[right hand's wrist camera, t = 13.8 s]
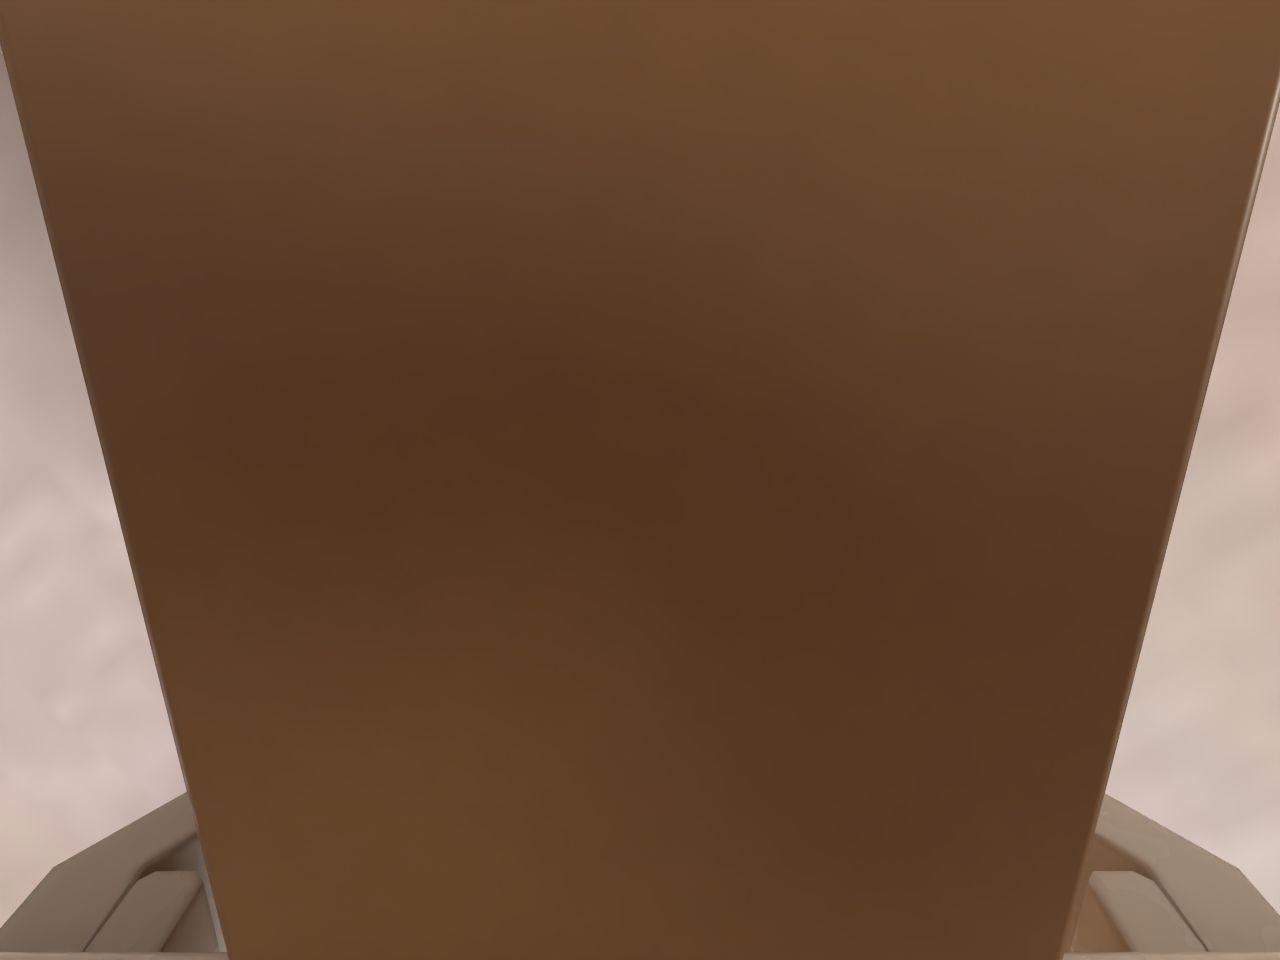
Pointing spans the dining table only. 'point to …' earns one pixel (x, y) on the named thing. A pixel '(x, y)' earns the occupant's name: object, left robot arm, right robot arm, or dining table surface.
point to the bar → (646, 444)
